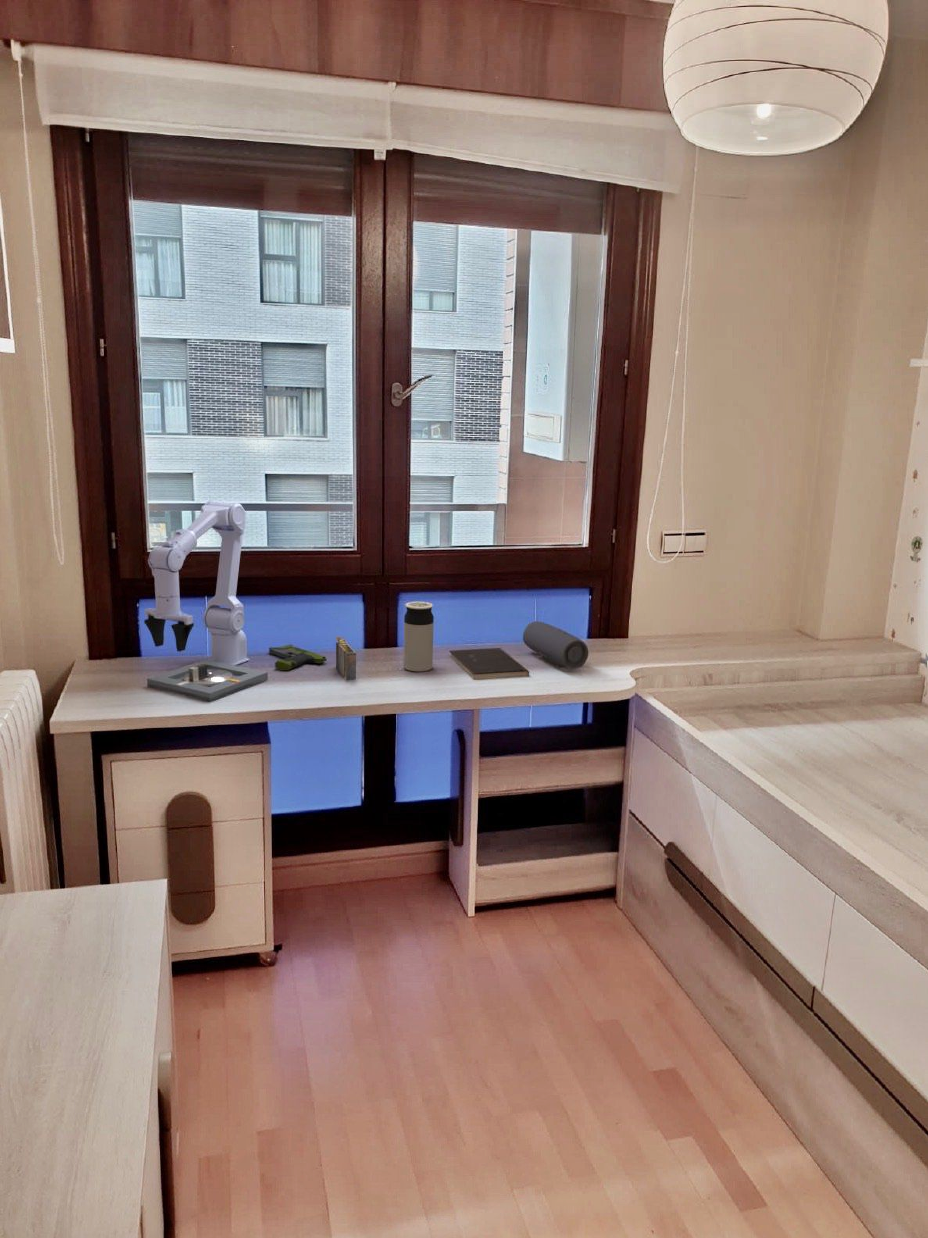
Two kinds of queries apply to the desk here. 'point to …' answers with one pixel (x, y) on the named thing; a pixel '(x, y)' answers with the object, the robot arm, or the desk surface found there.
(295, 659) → the gun
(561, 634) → the bluetooth speaker
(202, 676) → the dial
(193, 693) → the dial plate
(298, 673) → the desk surface
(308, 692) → the desk surface
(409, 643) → the travel mug
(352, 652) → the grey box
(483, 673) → the hardcover book
